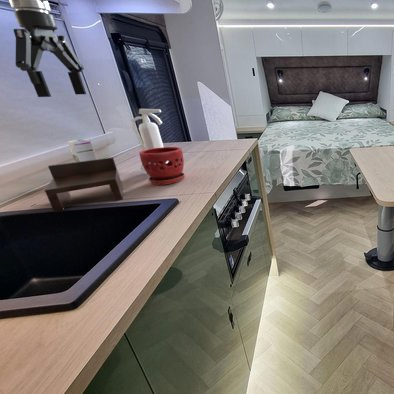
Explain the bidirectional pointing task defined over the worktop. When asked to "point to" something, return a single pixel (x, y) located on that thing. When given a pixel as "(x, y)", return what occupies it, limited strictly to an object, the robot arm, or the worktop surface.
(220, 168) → the worktop surface
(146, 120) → the fire extinguisher
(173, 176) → the flower pot
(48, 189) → the bench
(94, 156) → the syrup box
